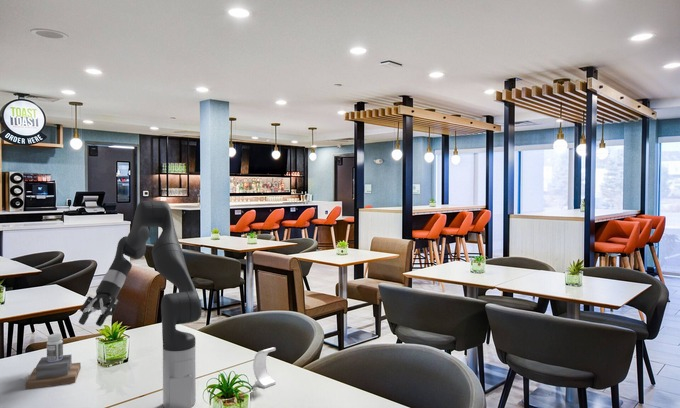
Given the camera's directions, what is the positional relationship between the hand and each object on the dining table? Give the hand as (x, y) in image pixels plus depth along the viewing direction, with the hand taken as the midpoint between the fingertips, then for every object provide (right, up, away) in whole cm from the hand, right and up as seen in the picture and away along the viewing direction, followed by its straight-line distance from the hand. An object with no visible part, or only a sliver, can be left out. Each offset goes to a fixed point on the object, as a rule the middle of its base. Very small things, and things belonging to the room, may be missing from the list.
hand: (89, 324), depth 173 cm
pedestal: (-7, -16, -10) cm, 20 cm away
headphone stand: (+65, -16, -14) cm, 68 cm away
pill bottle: (-7, -10, -10) cm, 15 cm away
